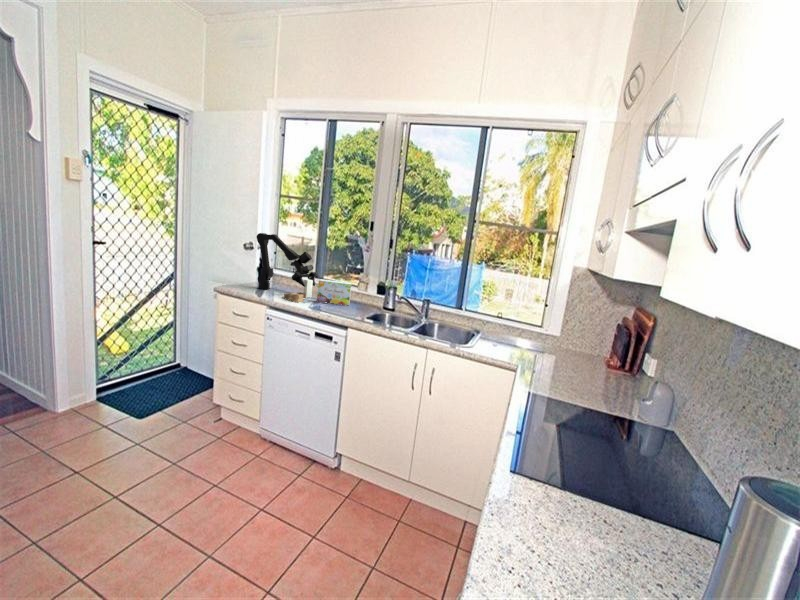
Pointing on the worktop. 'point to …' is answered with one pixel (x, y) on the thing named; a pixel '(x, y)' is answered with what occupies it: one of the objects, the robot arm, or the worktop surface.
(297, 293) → the frame
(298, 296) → the offcut top
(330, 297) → the snack box
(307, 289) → the white rectangular block
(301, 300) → the block
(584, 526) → the worktop surface
